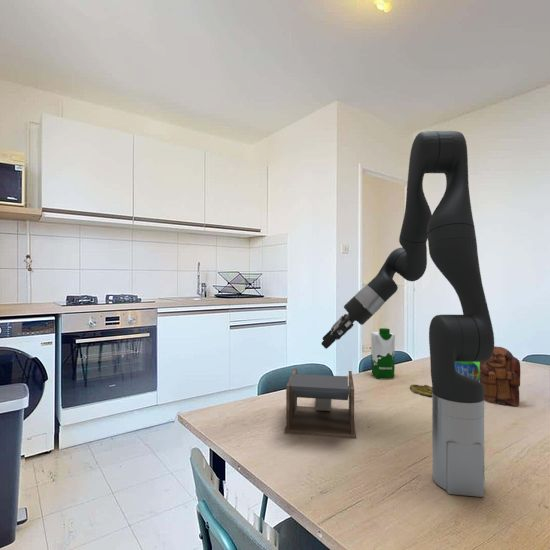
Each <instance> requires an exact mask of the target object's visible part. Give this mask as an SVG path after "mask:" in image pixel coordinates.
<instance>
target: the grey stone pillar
mask: <svg viewBox="0 0 550 550" xmlns="http://www.w3.org/2000/svg"><path fill="white" fill-rule="evenodd" d="M314 399H315V406H314V407H315V410H322V411H331V408H332V402H333V401H332V400H333V399H316V398H314Z"/></svg>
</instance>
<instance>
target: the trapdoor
mask: <svg viewBox="0 0 550 550" xmlns="http://www.w3.org/2000/svg"><path fill="white" fill-rule="evenodd" d="M290 377H291V381H290V386H291V388H292V389H293V391H294V393H295V395H296V396H297V398H299V399H300V398H302V399H315V398H316V399H332V400H335V401H336V400H338V401H349V375H348V376H347V375H346V376H344V375H328V374H327V375H324V374H323V375H322V374H301V373H297V374H292V373H291V374H290Z"/></svg>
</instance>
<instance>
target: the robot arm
mask: <svg viewBox="0 0 550 550" xmlns="http://www.w3.org/2000/svg"><path fill="white" fill-rule="evenodd" d="M467 145H468V144H467V140H466V137H465V136H464V134H463V133H462V132H460V131H456V130H424V131H420V132H419V133H417V135H415V138H414V139H413V142H412V145H411V148H410V154H409V162H408V172H407V184H406V185H407V186H406V197H405V198H406V199H405V209H404V215H403V221H402V226H401V229H400V234H399V238H398V242H399V245H400V247H398V248H396V249H394V250H392V251H391V253H389V255H388V256H387V258H386V260H385V261H384V263H383V265H382V266H381V268H380V270H379V271H378V273H377V274H376V275H375V276H374V278H372V279H371V280H370V281H369V282H368V283H367V285H365V286H364V287H362V288H361V289H359V291H358V292H357V293H356V294H355V295H354V296H353V297H352V298H350V300H349V301H347V302H346V303H345V305H343V308H344V310H345V311H346V312H347V313H345V314H343V315H341V316H340V317H339V319H338V320H337V321H336V322H335V323H334V324H332V327H330V330H329V331H327V333H325V335H323V337H322V342H321V346H322V347H323V348H324V349H326V350H327V349H328V348H329V347H331V346H332V345H333V344H334V342H336V341H338V340H341V338H342V337H343V336H345V335H346V333H348V332H349V331H350V330H351V329H352V328H353V327H354V325H355V324H354V323H355V322H357V323H358V324H359V325H360V326H363V325H365V323H367V321H369V320H370V319H371V318H372V317H373V316H374V315H375V314H376V313H377V312H378V311H379V310H380V309H381V307H382V306H383V305H384V304H385V303H386V302H387V301H388V300H389V299H391V297H392V296H393V295H394V294H395V293H397V292H398V284H397V283H396V281H394V276H395V274H396V273H397V274H398V275H399V276H401V277H402V278H403V279H404V280H406V281H407V282H417V281H418V280H420V279H421V278H422V277H423V276H424V275H425V272H426V271H427V270H426V269H427V265H428V253H427V251H428V252H429V256H430V259H431V261H432V262H433V264H434V265H435V267H436V269H438V270H439V272H440V273H441V274H442V275H443V277H444V278H445V279H446V281H448V282H449V284H450V285H451V286H452V288H453V289H454V291H455V293H456V294H457V298H458V300H459V303H460V306H461V310H462V314H436V315H435V316H433V317H432V319H431V320H430V323H429V329H428V344H429V358H430V359H429V360H430V361H429V362H430V377H431V378H430V379H431V387H432V398H431V400H432V401H431V402H432V403H431V404H432V406H431V412H432V413H431V418H432V419H431V420H432V421H431V423H432V424H431V426H432V427H431V431H432V432H431V434H432V435H431V436H432V438H431V439H432V442H431V444H432V446H431V447H432V448H431V449H432V450H431V451H432V453H431V456H432V457H431V458H432V480H433V481H434V483H435V484H436V485H438V487H440V488H441V489H444V490H445V491H446V493H447V494H449V495H456V496H466V497H467V496H470V497H479V498H483V497H484V495H485V494H484V491H485V486H486V485H485V484H486V482H485V479H486V477H485V468H486V467H485V400H484V387H483V385H482V384H481V383H480V381H477V380H475V379H472V378H469V377H466V376H464V375H461V374H459V373H458V372H456V369H455V361H458V362H483V361H487V360H489V359H490V358H491V357H492V355H493V351H494V346H495V336H494V335H495V334H494V333H495V332H494V327H493V324H492V319H491V316H490V311H489V307H488V303H487V298H486V295H485V290H484V287H483V282H482V275H481V270H480V269H481V268H480V262H479V254H478V243H477V235H476V228H475V223H474V218H473V211H472V210H473V209H472V204H471V203H472V202H471V197H470V196H471V195H470V187H469V186H470V184H469V163H468V162H469V161H468V160H469V158H468V146H467ZM425 174H444V175H445V178H446V179H445V181H446V184H445V185H446V186H445V190H444V192H443V196H442V198H441V199H440V201H439V202H438V205H437V206H436V207H435V209H434V210H433V213H432V210H431V207H430V205H429V203H428V201H427V198H426V196H425V192H424V188H423V187H424V186H423V185H424V184H423V183H424V178H425V177H424V176H425ZM427 245H428V248H427Z"/></svg>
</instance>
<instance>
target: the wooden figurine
mask: <svg viewBox="0 0 550 550" xmlns="http://www.w3.org/2000/svg"><path fill="white" fill-rule="evenodd" d="M480 371H481V372H480V381H479V382H480V383H481V384H482V385H483V387H484V402H487V403H491V404H497V405H503V406H512V407H518V406H519V405H520V387H521V363H520V360H519V359H518V358H517V357H515V356H514V355H513V353H512V352H511V351H510V350H508V349H507V348H505V347H502V346H497V345H494V351H493V355H492V357H491V358H490V359H489V360H487V361H483V362H480Z"/></svg>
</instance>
